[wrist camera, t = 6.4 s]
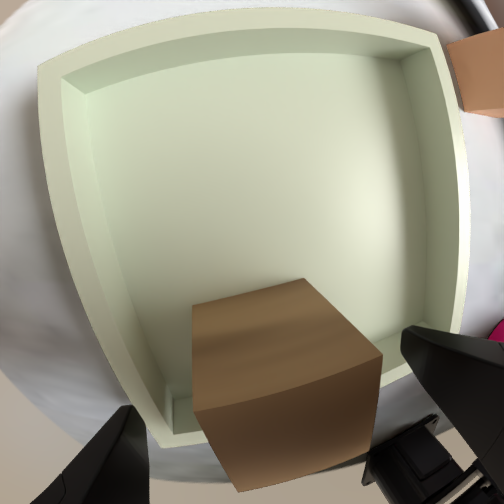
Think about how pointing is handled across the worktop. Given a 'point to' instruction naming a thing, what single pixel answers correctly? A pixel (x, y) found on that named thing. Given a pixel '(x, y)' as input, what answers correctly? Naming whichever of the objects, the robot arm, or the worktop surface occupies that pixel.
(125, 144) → the tray
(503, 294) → the worktop surface
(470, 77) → the peach block
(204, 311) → the walnut block
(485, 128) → the worktop surface
